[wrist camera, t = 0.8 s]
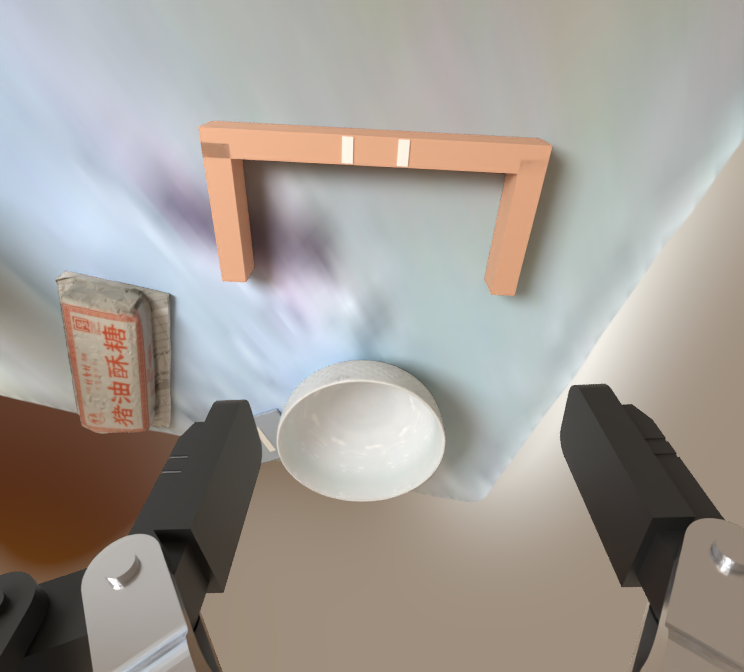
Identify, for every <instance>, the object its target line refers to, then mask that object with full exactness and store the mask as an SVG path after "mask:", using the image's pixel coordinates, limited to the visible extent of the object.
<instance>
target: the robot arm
mask: <svg viewBox="0 0 744 672" xmlns="http://www.w3.org/2000/svg"><path fill="white" fill-rule="evenodd" d="M560 441H561V447H562V451H563V454H564V457H565V459H566V461H567V464H568V466H569V468H570V471H571V473H572V475H573V477H574V480H575V482H576V484H577V487H578V489H579V491H580V493H581V496H582V498H583V500H584V502H585V505H586V507H587V509H588V511H589V514H590V516H591V518H592V521H593V523H594V525H595V527H596V530H597V532H598V534H599V536H600V539H601V541H602V543H603V546H604V548H605V550H606V552H607V555H608V557H609V559H610V562H611V564H612V566H613V568H614V571H615V573H616V575H617V577H618V580H619V582H620V584H621V587H642V588H643V590H644V592H645V594H646V596H647V598H648V603H647V606H646V608H645V612H644V616H643V619H642V623H641V627H640V630H639V634H638V638H637V641H636V645H635V649H634V653H633V656H632V660H631V664H630V667H629V672H744V528H743V527H741V526H739V525H737V524H734V523H732V522H729V521H725V519H724V518H723V517H722V516H721V515H720V513H719V512H718V510H717V509H716V507H715V506H714V505H713V503H712V502H711V501H710V499H709V498H708V496H707V495H706V494H705V492H704V491H703V489H702V488H701V487H700V485H699V484H698V482H697V481H696V480H695V478H694V477H693V475H692V474H691V473H690V471H689V470H688V469H687V467H686V466H685V465H684V463H683V461H682V460H681V459H680V457H677V456H676V452H675V450H674V449H673V448H672V446H671V445H670V443H669V442H666V440H665V436H664V435H663V434H662V432H661V431H660V430H659V428H658V427H657V425H656V424H655V423H654V421H653V420H652V419H651V418H650V417H648V416H647V415H646V414H644V413H643V412H642V411H640V410H639V409H637V408H636V407H635V406H633V405H632V404H628V405H622V404H621V403H620V402H619V400H618V399H617V397H616V395H615V394H614V392H613V391H612V389H611V388H610V387H609V386H608V385H606V384H589V385H573V386H571V388H570V390H569V393H568V398H567V403H566V407H565V412H564V416H563V421H562V426H561V431H560ZM261 461H262V444H261V440H260V436H259V433H258V430H257V427H256V424H255V420H254V417H253V414H252V411H251V408H250V405H249V403H248V401H247V400H225V401H216V402H214V404H213V405H212V407H211V409H210V411H209V413H208V416H207V418H206V420H205V422H195V423H194V424H193V425H192V426H191V427H190V428H189V429H188V430H187V431H186V432H185V433H184V434H183V435H182V436H181V437H180V438H179V439H178V441H177V443H176V445H175V447H174V449H173V451H172V453H171V454H170V459H168V460H167V462H166V464H165V466H164V468H163V470H162V474H160V476H159V477H158V479H157V481H156V483H155V485H154V487H153V489H152V491H151V493H150V495H149V497H148V499H147V501H146V502H145V504H144V506H143V508H142V510H141V512H140V514H139V516H138V518H137V520H136V522H135V524H134V526H133V527H132V529H131V531H130V533H129V534H128V536H126V537H123V538H121V539H119V540H117V541H115V542H113V543H112V544H110V545H109V546H108V547H106V548H105V549H104V550H103V551H101V552H100V553H99V554H98V555H97V556H96V558H94V560H93V561H92V562H91V564H90V565H89V566H88V568H86V569H83V570H80V571H77V572H74V573H71V574H68V575H65V576H62V577H59V578H56V579H53V580H50V581H47V582H44V583H41V584H38V583H37V582H36V581H35V580H34V579H33V578H32V577H31V576H30V575H29V574H27V573H24V572H10V573H6V574H3V575H0V672H223V671H222V668H221V666H220V663H219V660H218V657H217V655H216V652H215V649H214V647H213V644H212V641H211V638H210V636H209V633H208V630H207V628H206V625H205V622H204V619H203V617H202V614H201V612H200V610H201V606H202V603H203V600H204V597H205V594H206V593H223V592H224V589H225V586H226V582H227V579H228V575H229V572H230V568H231V565H232V562H233V558H234V555H235V551H236V548H237V544H238V541H239V538H240V534H241V531H242V528H243V524H244V521H245V517H246V514H247V510H248V507H249V504H250V500H251V497H252V493H253V490H254V487H255V483H256V480H257V476H258V473H259V469H260V466H261Z"/></svg>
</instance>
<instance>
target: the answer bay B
mask: <svg viewBox="0 0 744 672" xmlns="http://www.w3.org/2000/svg"><path fill="white" fill-rule="evenodd" d="M198 128H199V135H200V141H201V147H202V154H203V160H204V166H205V173H206V179H207V186H208V192H209V198H210V205H211V211H212V217H213V224H214V230H215V237H216V243H217V249H218V256H219V262H220V268H221V275H222V281H230V282H246V281H247V280H248V278H249V276H250V274H251V273H252V271H253V269H254V259H253V249H252V240H251V231H250V222H249V213H248V204H247V195H246V186H245V177H244V168H243V159H248V160H267V161H286V162H305V163H324V164H343V165H362V166H381V167H400V168H419V169H438V170H457V171H476V172H494V173H506V177H505V182H504V187H503V191H502V196H501V201H500V206H499V211H498V216H497V220H496V225H495V230H494V235H493V240H492V245H491V249H490V254H489V259H488V264H487V269H486V273H485V278H484V279H485V282H486V284H487V286H488V288H489V291H490V293H491V295H510V296H514V295H515V291H516V287H517V283H518V279H519V276H520V272H521V268H522V264H523V260H524V256H525V252H526V248H527V244H528V240H529V236H530V232H531V228H532V225H533V221H534V217H535V213H536V209H537V205H538V201H539V197H540V193H541V189H542V185H543V181H544V178H545V174H546V170H547V166H548V162H549V158H550V154H551V150H552V145H550V144H548V143H547V142H545V141H543V140H542V139H540V138H522V137H504V136H485V135H466V134H448V133H429V132H410V131H392V130H373V129H355V128H336V127H317V126H299V125H280V124H261V123H243V122H224V121H211V122H208V123H206V124H204V125H202V126H199V127H198Z"/></svg>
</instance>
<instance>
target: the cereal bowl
mask: <svg viewBox="0 0 744 672" xmlns="http://www.w3.org/2000/svg"><path fill="white" fill-rule="evenodd" d="M276 442H277V450H278V454H279V457H280V459H281V461H282V463H283V465H284V467H285V468H286V469H287V471H288V472H289V473H290V474H291V475H292V476H293V477H294V478H295V479H296V480H297V481H298V482H300V483H301V484H303V485H304V486H306V487H307V488H309V489H311V490H313V491H315V492H317V493H319V494H322V495H325V496H328V497H331V498H336V499H340V500H347V501H378V500H385V499H389V498H393V497H396V496H399V495H402V494H404V493H406V492H409V491H411V490H413V489H415V488H417V487H418V486H420V485H421V484H422V483H424V482H425V481H426V480H427V479H429V478H430V477H431V475H432V474H433V473H434V472H435V471H436V469H437V468H438V466H439V465H440V463H441V460H442V458H443V455H444V452H445V446H446V435H445V429H444V425H443V421H442V416H441V414H440V411H439V408H438V406H437V404H436V402H435V400H434V398H433V397H432V395H431V393H430V392H429V391H428V390H427V388H426V387H425V386H424V385H423V384H422V383H421V382H420V381H419V380H417V379H416V378H415V377H414V376H412V375H410V374H409V373H407V372H406V371H404V370H402V369H400V368H398V367H395V366H394V365H390V364H386V363H383V362H377V361H370V360H353V361H345V362H340V363H337V364H333V365H330V366H327V367H325V368H323V369H320V370H318V371H317V372H314V373H313V374H312V375H310V376H309V377H307V378H306V379H305V380H304V381H303V382H301V383H300V384H299V386H298V387H296V389H295V390H294V392H293V393H292V394H291V396H290V397H289V398H288V401H287V403H286V404H285V406H284V409H283V411H282V414H281V417H280V421H279V424H278V429H277V439H276Z"/></svg>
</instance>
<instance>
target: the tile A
mask: <svg viewBox="0 0 744 672" xmlns="http://www.w3.org/2000/svg"><path fill="white" fill-rule="evenodd" d="M253 417H254V420H255V424H256V427H257V430H258V433H259V436H260V440H261V444H262V461H261V463H264V462H268V461H272V460H275V459H279V458H280V457H279V454H278V450H277V442H276V439H277V429H278V424H279V421H280V417H281V413H280V412H279V411H278V409H274V410H271V411H267V412H264V413H261V414H258V415H255V416H253Z"/></svg>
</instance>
